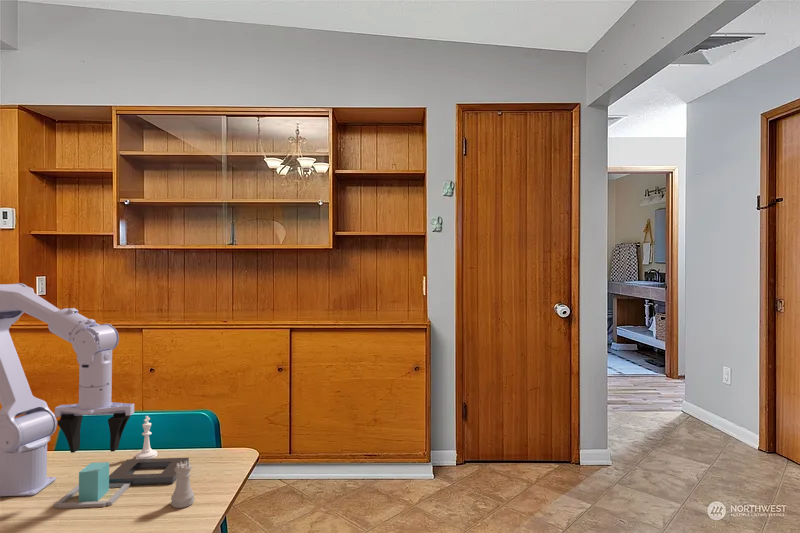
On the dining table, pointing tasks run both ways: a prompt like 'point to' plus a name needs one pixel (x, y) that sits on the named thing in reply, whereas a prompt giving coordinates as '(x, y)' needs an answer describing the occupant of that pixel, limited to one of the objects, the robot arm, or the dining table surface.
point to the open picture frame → (62, 501)
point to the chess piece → (146, 443)
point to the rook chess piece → (182, 486)
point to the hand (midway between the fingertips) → (94, 450)
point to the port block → (131, 465)
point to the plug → (93, 482)
